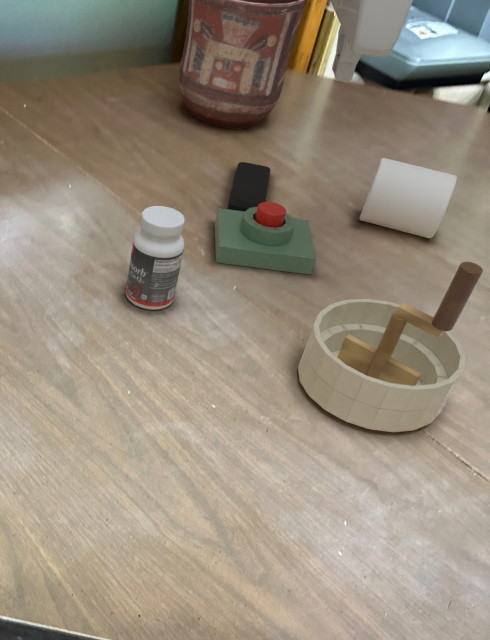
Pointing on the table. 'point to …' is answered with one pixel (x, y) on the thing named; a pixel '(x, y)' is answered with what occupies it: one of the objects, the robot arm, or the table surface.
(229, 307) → the table surface
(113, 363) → the table surface
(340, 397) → the bowl
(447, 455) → the table surface
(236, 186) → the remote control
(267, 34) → the pottery
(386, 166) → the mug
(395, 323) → the stirring paddle
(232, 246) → the green button base
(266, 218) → the timer button
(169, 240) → the pill bottle
